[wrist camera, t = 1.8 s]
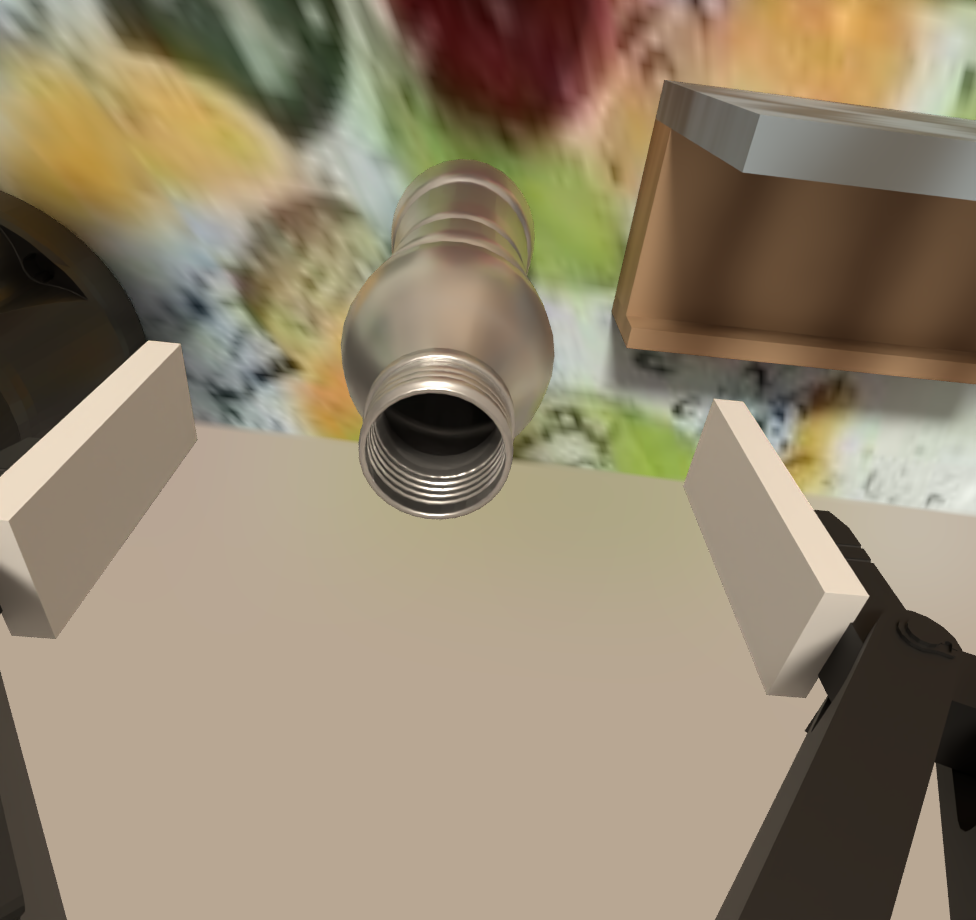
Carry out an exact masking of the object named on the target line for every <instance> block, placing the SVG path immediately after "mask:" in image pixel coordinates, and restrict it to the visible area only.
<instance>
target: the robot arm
mask: <svg viewBox="0 0 976 920" xmlns="http://www.w3.org/2000/svg"><path fill="white" fill-rule="evenodd" d="M196 441H197V435H196V430H195V423H194V418H193V412H192V406H191V400H190V394H189V389H188V383H187V377H186V371H185V365H184V359H183V354H182V348H181V344H178V343H168V342H159V341H149V340H148V341H147V342H146V340H145V336H144V333H143V330H142V327H141V324H140V321H139V319H138V316H137V314H136V312H135V310H134V308H133V306H132V304H131V302H130V300H129V298H128V297H127V295H126V293H125V292H124V290H123V289H122V287H121V286H120V284H119V283H118V281H117V280H116V278H115V277H114V276H113V274H112V273H111V272H110V271H109V269H108V268H107V267H106V266H105V265H104V263H103V262H102V261H101V260H100V259H99V258H98V257H97V256H96V255H95V253H94V252H92V251H91V250H90V249H89V248H88V247H87V246H86V245H85V244H84V243H83V242H82V241H81V240H80V239H79V238H77V237H76V236H75V235H74V234H73V233H72V232H70V231H69V230H68V229H66V228H65V227H64V226H63V225H61V224H60V223H58V222H57V221H56V220H54V219H53V218H51V217H50V216H48V215H47V214H45V213H43V212H42V211H40V210H39V209H37V208H35V207H33V206H31V205H30V204H28V203H26V202H24V201H22V200H20V199H18V198H16V197H14V196H11V195H9V194H7V193H4V192H2V191H0V614H1V613H2V615H3V618H4V620H5V622H6V624H7V626H8V628H9V631H10V633H11V635H12V636H25V637H37V638H50V639H56V638H57V636H58V635H59V633H60V632H61V631H62V629H63V628H64V627H65V625H66V624H67V622H68V621H69V620H70V618H71V617H72V615H73V614H74V613H75V611H76V610H77V608H78V607H79V606H80V604H81V603H82V601H83V600H84V599H85V597H86V596H87V594H88V593H89V592H90V590H91V589H92V587H93V586H94V584H95V583H96V582H97V580H98V579H99V577H100V576H101V575H102V573H103V572H104V570H105V569H106V568H107V566H108V565H109V563H110V562H111V561H112V559H113V558H114V556H115V555H116V554H117V552H118V551H119V549H120V548H121V546H122V545H123V544H124V542H125V541H126V540H127V538H128V537H129V535H130V534H131V532H132V531H133V530H134V528H135V527H136V525H137V524H138V522H139V521H140V520H141V518H142V517H143V516H144V514H145V513H146V511H147V510H148V509H149V507H150V506H151V504H152V503H153V502H154V500H155V499H156V497H157V496H158V495H159V493H160V492H161V490H162V489H163V488H164V486H165V484H166V483H167V482H168V480H169V479H170V478H171V476H172V475H173V473H174V472H175V471H176V469H177V468H178V466H179V465H180V464H181V462H182V461H183V459H184V458H185V457H186V455H187V454H188V452H189V451H190V449H191V448H192V447H193V445H194V444H195V443H196ZM683 487H684V490H685V492H686V495H687V497H688V500H689V502H690V505H691V507H692V510H693V512H694V514H695V517H696V520H697V522H698V525H699V527H700V530H701V532H702V535H703V537H704V539H705V542H706V545H707V547H708V550H709V552H710V554H711V557H712V560H713V562H714V564H715V567H716V570H717V572H718V574H719V577H720V579H721V582H722V585H723V587H724V589H725V592H726V594H727V597H728V599H729V602H730V604H731V607H732V609H733V612H734V614H735V617H736V619H737V622H738V624H739V627H740V629H741V632H742V634H743V637H744V639H745V641H746V644H747V647H748V649H749V652H750V654H751V657H752V659H753V662H754V664H755V666H756V669H757V672H758V674H759V677H760V679H761V681H762V684H763V686H764V689H765V692H766V694H767V695H775V696H787V697H800V698H801V697H802V698H806V697H807V695H808V694H809V692H810V690H811V689H812V687H813V686H814V684H815V682H816V681H817V679H818V678H819V679H820V681H821V683H822V685H823V687H824V689H825V691H826V693H827V694H828V696H827V698H826V699H825V701H824V702H823V704H822V705H821V707H820V709H819V710H818V712H817V713H816V715H815V716H814V718H813V719H812V721H811V722H810V724H809V725H808V727H807V728H806V730H805V731H806V732H807V735H806V737H805V739H804V741H803V743H802V745H801V747H800V749H799V751H798V753H797V755H796V758H795V760H794V762H793V764H792V766H791V768H790V770H789V772H788V774H787V776H786V778H785V780H784V782H783V784H782V786H781V788H780V790H779V792H778V794H777V796H776V798H775V800H774V802H773V804H772V806H771V808H770V810H769V812H768V814H767V816H766V818H765V820H764V822H763V824H762V826H761V828H760V830H759V832H758V834H757V836H756V838H755V840H754V842H753V844H752V846H751V848H750V850H749V852H748V854H747V857H746V858H745V860H744V863H743V864H742V867H741V869H740V871H739V873H738V875H737V877H736V879H735V881H734V883H733V885H732V887H731V889H730V891H729V893H728V895H727V897H726V899H725V901H724V903H723V905H722V907H721V909H720V911H719V913H718V915H717V917H716V919H715V920H890V918H891V915H892V911H893V908H894V904H895V901H896V897H897V894H898V890H899V886H900V883H901V879H902V876H903V872H904V869H905V865H906V862H907V858H908V855H909V851H910V847H911V844H912V840H913V837H914V833H915V830H916V826H917V823H918V819H919V815H920V812H921V808H922V805H923V801H924V798H925V794H926V791H927V787H928V783H929V780H930V776H931V772H932V769H933V766H934V762H935V763H936V769H937V780H938V791H939V801H940V812H941V823H942V834H943V844H944V855H945V866H946V877H947V887H948V897H949V908H950V919H951V920H976V656H975V655H972V654H969V653H966V652H963V651H962V649H961V647H960V646H959V644H958V643H957V641H956V639H955V638H954V637H953V636H952V635H951V634H950V633H949V632H948V631H947V630H946V629H945V628H944V627H942V626H941V625H939V624H938V623H936V622H934V621H933V620H931V619H930V618H928V617H926V616H923V615H921V614H918V613H916V612H913V611H909V610H906V609H905V608H904V606H903V605H902V603H901V602H900V601H899V599H898V598H897V596H896V595H895V594H894V592H893V590H892V589H891V588H890V586H889V585H888V583H887V582H886V580H885V579H884V578H883V576H882V575H881V573H880V572H879V571H878V569H877V567H876V566H875V565H874V563H871V559H870V557H869V556H868V554H867V553H866V552H865V550H864V549H861V544H860V543H859V542H858V540H857V539H856V537H855V536H854V534H853V533H852V532H851V530H850V529H849V528H848V527H847V526H846V525H845V524H844V523H843V522H841V521H840V520H839V519H837V518H836V517H835V516H834V515H833V514H832V513H830V512H829V511H820V510H813V509H812V507H811V505H810V504H809V503H808V501H807V499H806V498H805V496H804V495H803V493H802V492H801V490H800V488H799V487H798V485H797V484H796V482H795V481H794V479H793V478H792V476H791V475H790V473H789V471H788V470H787V468H786V467H785V465H784V464H783V462H782V461H781V459H780V458H779V456H778V454H777V453H776V451H775V450H774V448H773V447H772V445H771V444H770V442H769V441H768V439H767V437H766V436H765V434H764V433H763V431H762V430H761V428H760V427H759V425H758V424H757V422H756V420H755V419H754V417H753V416H752V414H751V413H750V411H749V410H748V408H747V407H746V405H745V404H744V402H741V401H731V400H721V399H713V402H712V405H711V408H710V411H709V414H708V416H707V419H706V422H705V425H704V428H703V431H702V434H701V437H700V439H699V442H698V445H697V448H696V451H695V454H694V457H693V460H692V462H691V465H690V468H689V471H688V474H687V477H686V480H685V482H684V485H683ZM0 920H67V919H66V915H65V911H64V908H63V904H62V900H61V897H60V893H59V889H58V885H57V882H56V877H55V874H54V870H53V866H52V863H51V860H50V855H49V851H48V848H47V844H46V840H45V837H44V833H43V829H42V825H41V821H40V818H39V814H38V810H37V807H36V803H35V799H34V795H33V792H32V788H31V784H30V780H29V777H28V773H27V769H26V765H25V762H24V758H23V754H22V751H21V747H20V743H19V739H18V736H17V732H16V728H15V725H14V721H13V717H12V713H11V709H10V706H9V702H8V698H7V695H6V691H5V687H4V684H3V680H2V676H1V672H0Z"/></svg>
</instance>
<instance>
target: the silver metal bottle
mask: <svg viewBox="0 0 976 920" xmlns="http://www.w3.org/2000/svg"><path fill="white" fill-rule="evenodd" d="M391 239H392V256H391V257H390V258H389V259H388V260H386V261H385V262H384V263H383V264H382V265H381V266H380V267H379V268H378V269H377V270H376V271H375V272H374V273H373V274H372V275H371V276H370V277H369V278H368V280H367V281H366V283H365V284H364V285H363V287H362V288H361V290H360V291H359V293H358V294H357V296H356V298H355V299H354V301H353V302H352V304H351V306H350V309H349V311H348V314H347V317H346V320H345V322H344V326H343V334H342V341H341V351H342V364H343V370H344V375H345V379H346V383H347V387H348V390H349V394H350V397H351V399H352V400H353V402H354V404H355V406H356V408H357V410H358V412H359V414H360V415H361V416H362V417H363V425H362V428H361V431H360V437H359V460H360V464H361V468H362V471H363V474H364V476H365V478H366V480H367V482H368V483H369V485H370V486H371V488H372V489H373V490H374V491H375V492H376V494H377V495H378V496H379V497H381V498H382V499H383V500H384V501H385V502H386V503H388V504H389V505H391V506H393V507H395V508H396V509H398V510H400V511H402V512H404V513H407V514H410V515H412V516H416V517H422V518H426V519H449V518H456V517H460V516H463V515H467V514H469V513H471V512H474V511H476V510H478V509H480V508H481V507H483V506H484V505H486V504H487V503H488V502H490V501H491V500H492V499H493V498H494V497H495V496H496V495H497V494H498V492H499V491H500V490H501V488H502V487H503V485H504V483H505V482H506V480H507V477H508V474H509V471H510V468H511V464H512V458H513V441H514V437H516V436H517V435H518V434H519V433H520V432H521V431H522V430H523V429H524V428H525V427H526V426H527V424H528V423H529V422H530V421H531V419H532V418H533V416H534V414H535V413H536V411H537V409H538V408H539V406H540V404H541V402H542V400H543V398H544V395H545V393H546V390H547V387H548V385H549V382H550V379H551V376H552V370H553V362H554V343H553V334H552V330H551V327H550V324H549V320H548V317H547V314H546V311H545V308H544V305H543V303H542V301H541V299H540V297H539V296H538V294H537V292H536V290H535V288H534V286H533V285H532V283H531V282H530V280H529V279H528V277H527V273H528V270H529V267H530V263H531V260H532V255H533V250H534V241H535V232H534V221H533V218H532V214H531V211H530V207H529V205H528V203H527V201H526V199H525V197H524V195H523V193H522V192H521V191H520V189H519V188H518V187H517V186H516V184H515V183H514V182H513V181H512V180H511V179H510V178H509V177H507V176H506V175H505V174H504V173H503V172H501V171H500V170H498V169H496V168H494V167H492V166H490V165H489V164H487V163H483V162H480V161H476V160H469V159H458V160H451V161H446V162H442V163H440V164H437V165H435V166H432V167H430V168H429V169H427V170H426V171H424V172H423V173H421V174H420V175H418V176H417V177H416V178H415V179H414V180H413V181H412V183H411V184H410V185H409V186H408V187H407V188H406V190H405V192H404V193H403V195H402V196H401V198H400V200H399V202H398V205H397V208H396V210H395V213H394V218H393V224H392V237H391Z"/></svg>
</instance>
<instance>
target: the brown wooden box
mask: <svg viewBox="0 0 976 920" xmlns="http://www.w3.org/2000/svg"><path fill="white" fill-rule="evenodd" d="M612 313H613V316H614V318H615V321H616V323H617V326H618V328H619V331H620V333H621V335H622V338H623V340H624V343H625V345H626V348H632V349H642V350H652V351H661V352H671V353H680V354H690V355H700V356H709V357H719V358H728V359H738V360H748V361H757V362H767V363H776V364H786V365H796V366H805V367H815V368H824V369H834V370H844V371H853V372H863V373H872V374H882V375H892V376H901V377H911V378H920V379H930V380H940V381H949V382H959V383H968V384H976V120H969V119H961V118H954V117H946V116H938V115H930V114H923V113H915V112H907V111H899V110H892V109H884V108H876V107H868V106H861V105H853V104H845V103H837V102H830V101H822V100H814V99H806V98H799V97H791V96H783V95H776V94H768V93H760V92H752V91H745V90H737V89H729V88H721V87H714V86H706V85H698V84H690V83H683V82H675V81H667V80H664V85H663V89H662V93H661V98H660V102H659V107H658V111H657V115H656V120H655V124H654V128H653V133H652V137H651V142H650V146H649V150H648V155H647V159H646V164H645V168H644V172H643V177H642V181H641V185H640V190H639V194H638V199H637V203H636V207H635V212H634V216H633V221H632V225H631V229H630V234H629V238H628V242H627V247H626V251H625V256H624V260H623V264H622V269H621V273H620V277H619V282H618V286H617V291H616V295H615V299H614V304H613V308H612Z"/></svg>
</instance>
